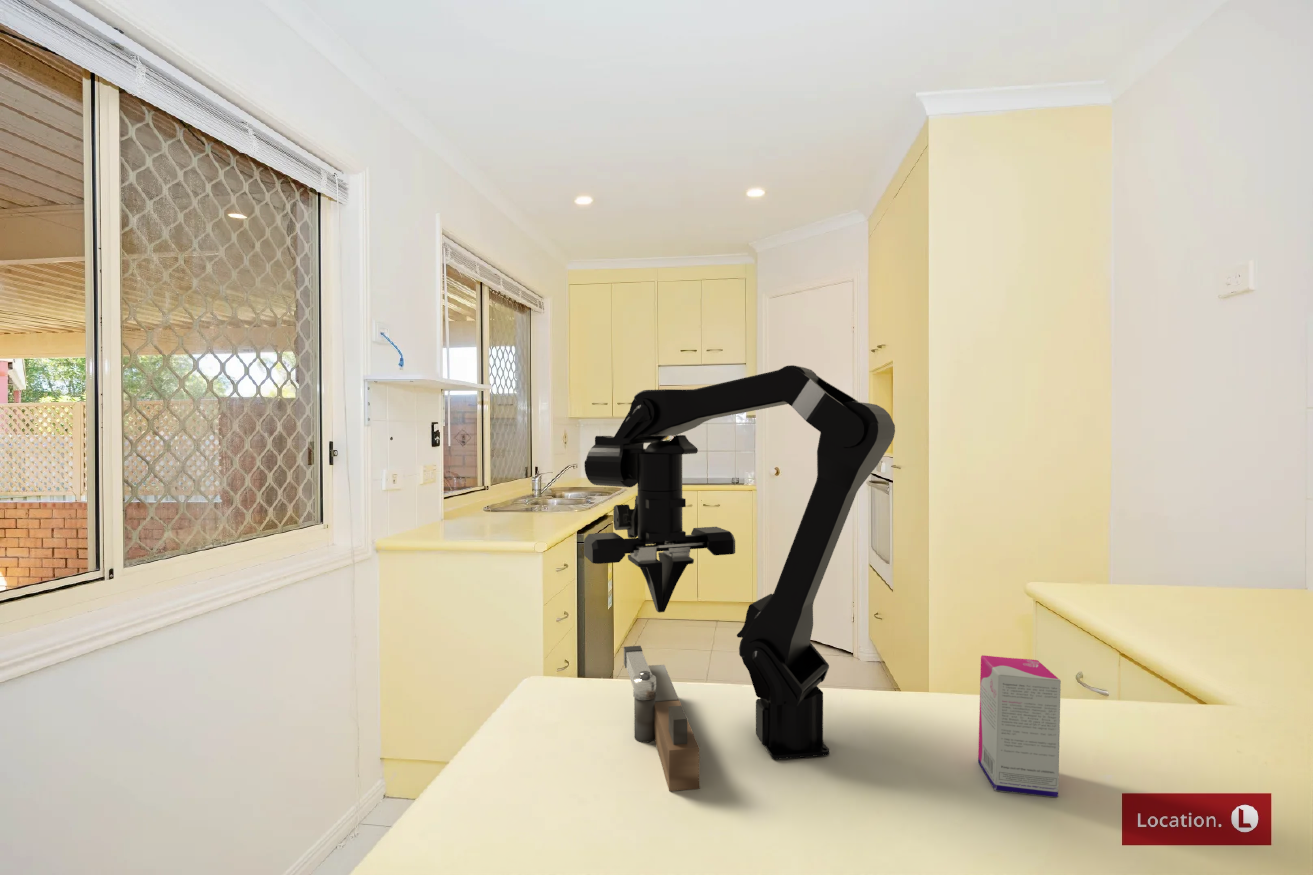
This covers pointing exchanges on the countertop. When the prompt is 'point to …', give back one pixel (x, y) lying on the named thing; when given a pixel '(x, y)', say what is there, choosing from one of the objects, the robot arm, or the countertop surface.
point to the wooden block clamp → (668, 732)
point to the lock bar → (639, 673)
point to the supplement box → (1019, 726)
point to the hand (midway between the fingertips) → (660, 611)
